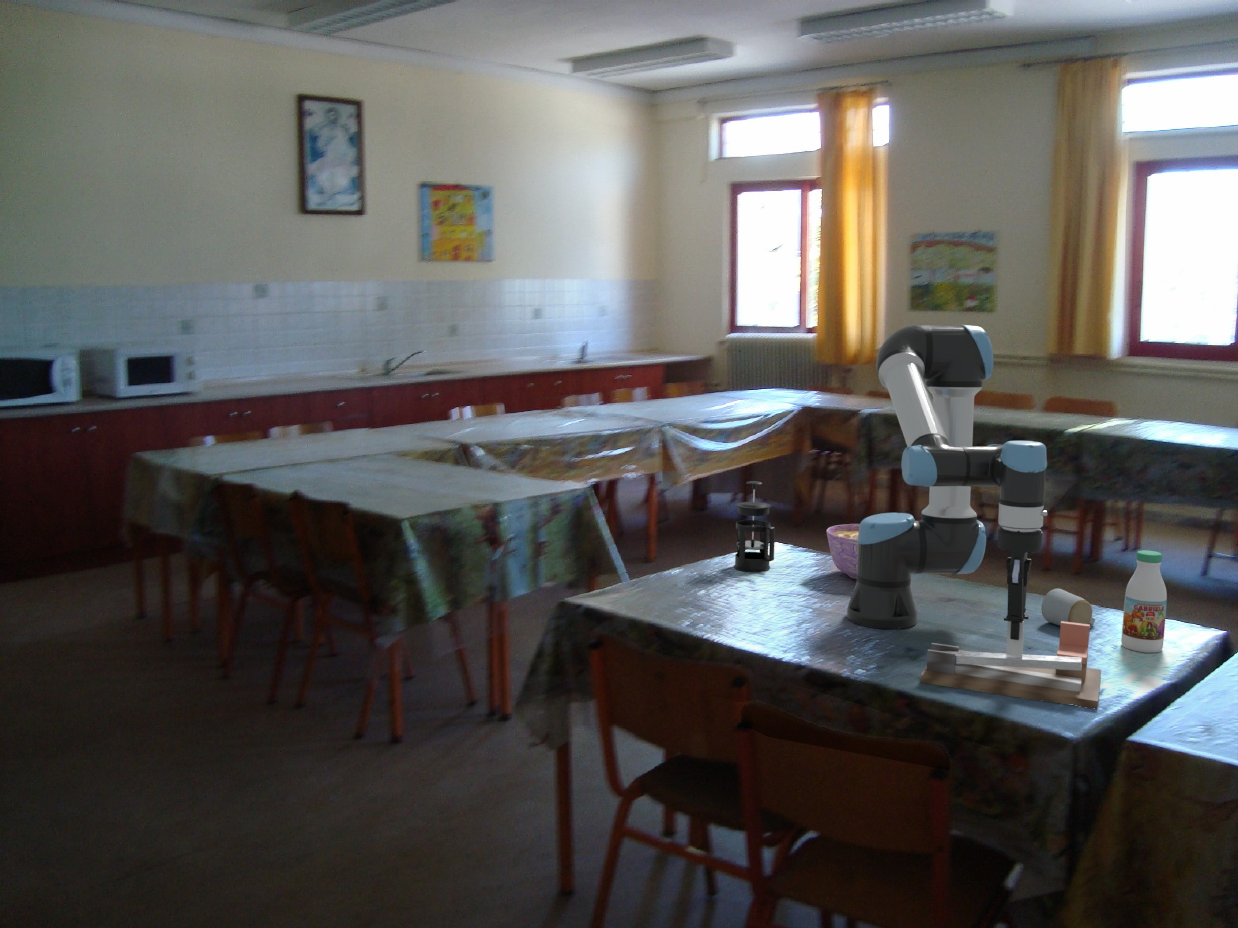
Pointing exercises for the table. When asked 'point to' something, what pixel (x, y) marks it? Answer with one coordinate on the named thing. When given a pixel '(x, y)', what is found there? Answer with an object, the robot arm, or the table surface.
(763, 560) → the french press
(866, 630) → the table surface
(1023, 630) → the robot arm
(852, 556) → the bowl of food
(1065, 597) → the ceramic mug
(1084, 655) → the bracket
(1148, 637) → the milk bottle
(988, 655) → the tong arm
